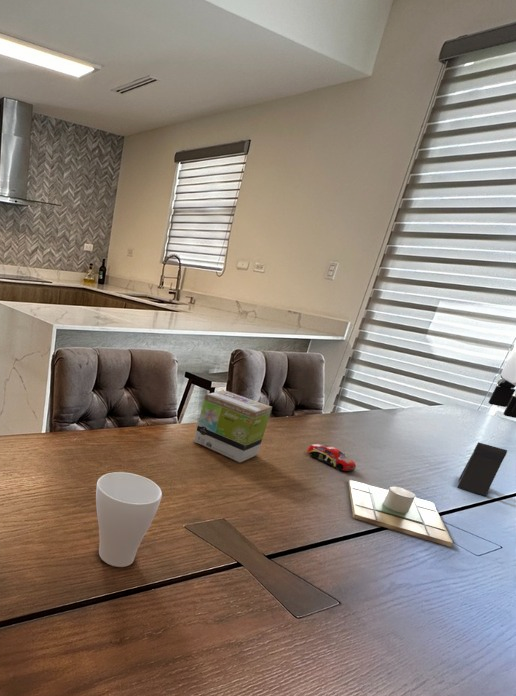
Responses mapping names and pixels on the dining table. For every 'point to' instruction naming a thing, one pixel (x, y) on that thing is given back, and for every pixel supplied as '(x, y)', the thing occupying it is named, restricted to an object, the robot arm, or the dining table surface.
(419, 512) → the board
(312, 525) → the dining table surface
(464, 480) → the phone stand
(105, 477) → the cup
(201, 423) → the tea box
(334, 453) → the race car
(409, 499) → the white cylinder puck
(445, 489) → the dining table surface
